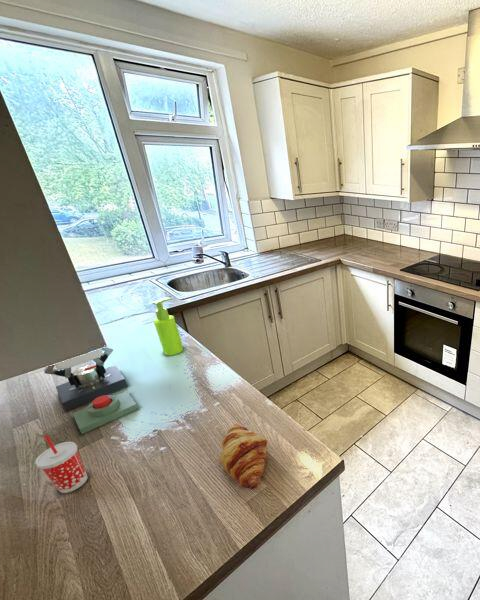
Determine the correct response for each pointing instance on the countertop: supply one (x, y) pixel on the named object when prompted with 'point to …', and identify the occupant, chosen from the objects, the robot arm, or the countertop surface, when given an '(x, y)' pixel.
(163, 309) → the soap dispenser
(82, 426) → the button block
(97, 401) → the button
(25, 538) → the countertop surface
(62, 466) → the beverage cup
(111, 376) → the dial panel
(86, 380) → the dial
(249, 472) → the croissant
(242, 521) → the countertop surface
